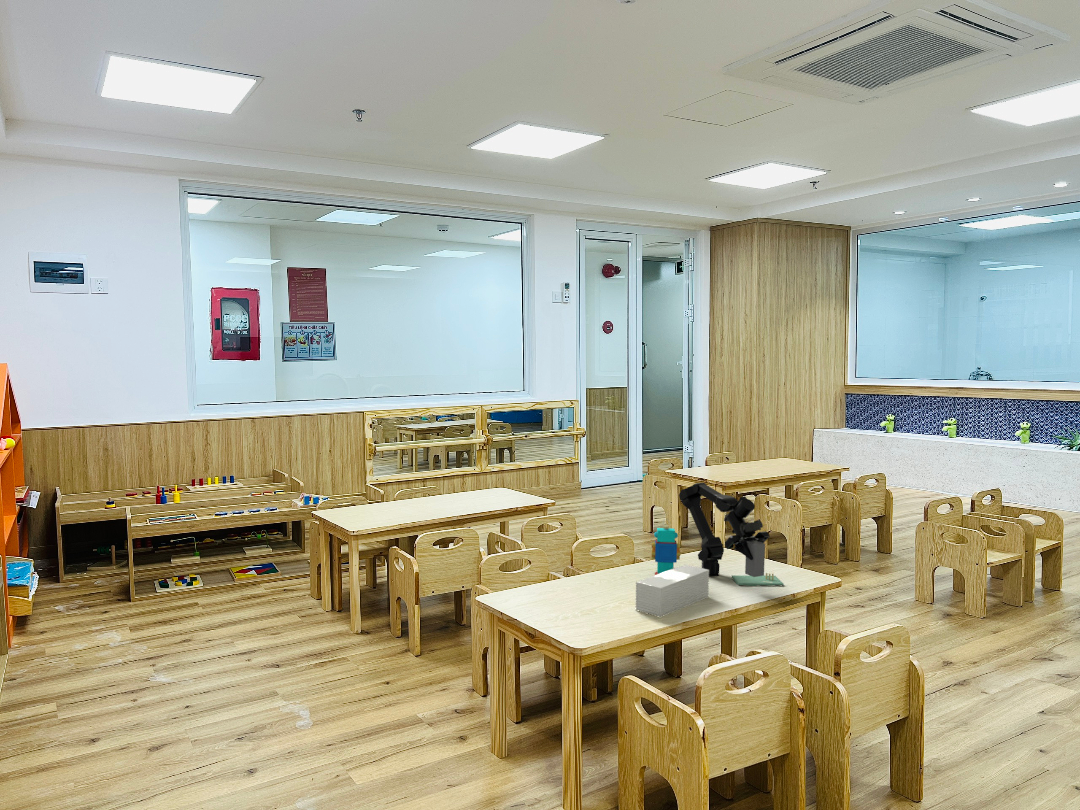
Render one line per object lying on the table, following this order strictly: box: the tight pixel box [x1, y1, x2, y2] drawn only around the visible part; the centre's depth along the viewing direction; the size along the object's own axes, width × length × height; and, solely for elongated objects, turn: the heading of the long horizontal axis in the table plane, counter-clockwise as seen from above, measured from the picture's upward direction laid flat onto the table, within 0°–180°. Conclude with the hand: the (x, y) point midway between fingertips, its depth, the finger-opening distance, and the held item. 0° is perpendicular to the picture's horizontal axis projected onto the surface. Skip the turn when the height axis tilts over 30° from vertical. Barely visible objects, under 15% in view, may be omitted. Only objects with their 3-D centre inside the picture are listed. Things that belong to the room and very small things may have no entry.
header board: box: [731, 572, 785, 587], centre depth 319 cm, size 18×11×4 cm, turn 90°
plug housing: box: [744, 541, 766, 577], centre depth 305 cm, size 5×5×12 cm
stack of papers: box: [635, 564, 710, 618], centre depth 291 cm, size 32×11×11 cm, turn 137°
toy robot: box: [650, 519, 681, 575], centre depth 321 cm, size 12×6×25 cm, turn 84°
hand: (757, 558), depth 304 cm, fingers closed on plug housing, 5 cm apart
